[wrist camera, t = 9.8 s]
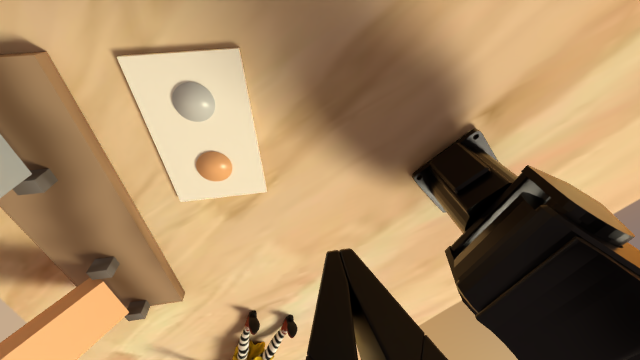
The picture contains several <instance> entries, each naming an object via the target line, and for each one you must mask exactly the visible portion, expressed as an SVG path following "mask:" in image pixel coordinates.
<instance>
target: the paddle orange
mask: <svg viewBox="0 0 640 360" xmlns="http://www.w3.org/2000/svg"><path fill="white" fill-rule="evenodd" d="M128 313H129V311H128V310H127V309H126V308H125V307H124V305H123V304H122V303H121V302H120V301H119V299H118V298H117V297H116V296H115V295H114V294H113V292H112V291H111V290H110V289H109V288H108V286H107V285H106V284H105V283H104V282H103V281H102V280H101V279H96V280H92V279H91V278H89V279H87V280H86V281H84V282H83V283H82V284H80V285H79V286H78V287H76V288H75V289H73V290H72V291H71V292H69V293H68V294H67V295H65V296H64V297H63V298H61V299H60V300H58V301H57V302H56V303H54V304H53V305H52V306H50V307H49V308H47V309H46V310H45V311H43V312H42V313H41V314H39V315H38V316H36V317H35V318H34V319H32V320H31V321H30V322H28V323H27V324H25V325H24V326H23V327H21V328H20V329H19V330H17V331H16V332H15V333H13V334H12V335H11V336H9V337H8V338H6V339H5V340H4V341H2V342H1V343H0V360H77V359H78V358H79V357H80V356H81V355H83V354H84V353H85V352H86V351H87V350H88V349H89V348H90V347H91V346H93V345H94V344H95V343H96V342H97V341H98V340H99V339H100V338H101V337H103V336H104V335H105V334H106V333H107V332H108V331H109V330H110V329H111V328H113V327H114V326H115V325H116V324H117V323H118V322H119V321H120V320H121V319H123V318H124V317H125V316H126V315H127V314H128Z"/></svg>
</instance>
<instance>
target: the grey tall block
mask: <svg viewBox="0 0 640 360" xmlns="http://www.w3.org/2000/svg"><path fill="white" fill-rule="evenodd" d="M31 174H32V173H31V172H30V171H29V169H28V168H27V167H26V166H25V164H24V163H23V162H22V161H21V159H20V158H19V157H18V156H17V154H16V153H15V152H14V151H13V149H12V148H11V147H10V146H9V144H8V143H7V142H6V141H5V139H4V138H3V137H2V135H1V134H0V198H1V197H3V196H4V195H5V194H7V193H8V192H9V191H10V190H12V189H13V188H14V187H16V186H17V185H18V184H20V183H21V182H22V181H24V180H25V179H26V178H28V177H29V176H30V175H31Z"/></svg>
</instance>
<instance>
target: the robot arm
mask: <svg viewBox="0 0 640 360" xmlns="http://www.w3.org/2000/svg"><path fill="white" fill-rule="evenodd" d="M475 134H476V135H475ZM474 135H475V137H473V136H474ZM521 172H522V173H521V174H520V175H519V176H516V175H515V174H514V173H512V172H511V171H510V170H508V169H507V168H506V167H504V166H503V165H502V164H501V163H499V162H498V160H497V159H496V157H495V155H494V153H493V152H492V150H491V148H490V146H489V145H488V143H487V141H486V139H485V138H484V136H483V134H482V133H481V132H480V131H479V130H477V129H473V130H471V131H470V132H469V133H467V134H466V135H465V136H463V137H462V138H460V139H459V140H458V141H456V142H455V143H454V144H452V145H451V146H450V147H448V148H447V149H446V150H444V151H443V152H442V153H440V154H439V155H437V156H436V157H435V158H433V159H432V160H431V161H429V162H428V163H427V164H425V165H424V166H423V167H421V168H420V169H418V170H417V171H416V172H415V173H414V174H413V176H412V177H413V179H414V181H415V182H416V183H417V184H418V185H419V186H420V187H421V188H422V190H423V191H424V192H425V193H426V194H427V195H428V196H429V197H430V199H431V200H432V201H433V202H434V203H435V204H436V205H437V206H438V207H439V209H440V210H441V211H442V212H447V213H448V215H449V216H450V217H451V218H452V220H453V221H454V222H455V224H456V225H457V226H458V227H459V229H460V230H461V231H462V233H463V234H462V235H461V236H460V237H459V239H458V240H457V241H456V242H455V243H454V244H453V245H452V246H449V247H448V248H447V249H446V250H445V253H446V256H447V259H448V262H449V265H450V268H451V271H452V274H453V277H454V280H455V283H456V286H457V289H458V292H459V294H460V296H461V298H462V301H463V302H464V303H465V304H466V305H467V306H468V308H469V309H470V310H471V311H472V312H473V313H474V314H475V317H476V319H477V320H478V321H479V322H480V323H482V324H483V325H484V326H486V327H487V328H488V329H489V330H491V331H492V332H493V333H494V334H495V335H496V336H497V337H498V338H499V339H500V340H501V341H502V342H503V343H504V344H505V345H506V346H507V347H508V348H509V349H510V350H511V352H512V353H513V354H514V355H515V356H516V358H517V359H518V360H640V250H638V249H637V248H635V247H634V246H632V245H631V244H629V243H628V241H629V240H631V239H632V238H634V237H635V235H634V234H633V233H632V232H631V231H630V230H629V229H628V228H627V227H625V225H624V224H623V223H622V222H620V221H619V220H618V219H617V218H616V217H615V216H614V215H613V214H612V213H611V212H610V211H609V210H608V209H607V208H606V207H605V206H603V205H602V204H601V203H600V202H598V201H597V200H595V199H593V198H592V197H590V196H588V195H587V194H585V193H583V192H582V191H580V190H579V189H577V188H575V187H574V186H572V185H570V184H569V183H567V182H564V181H562V180H560V179H558V178H555V177H553V176H551V175H549V174H546V173H544V172H542V171H540V170H537V169H535V168H533V167H531V166H528V165H527V166H526V167H525V168H524V169H523V170H522V171H521ZM418 176H419V177H418ZM417 177H418V178H417ZM356 344H357V348H358V351H359V354H360V357H361V360H448V359H447V358H446V357H445V356H444V355H443V353H442V352H441V351H440V350H439V349H438V348H437V347H436V346H435V345H434V343H433V342H432V341H431V340H430V339H429V338H428V337H427V335H425V336H424V332H423V331H422V330H421V329H420V327H419V326H418V325H417V324H416V323H415V322H414V320H413V319H412V318H411V317H410V316H409V315H408V313H407V312H406V311H405V310H404V309H403V308H402V307H401V305H400V304H399V303H398V302H397V301H396V300H395V298H394V297H393V296H392V295H391V294H390V293H389V292H388V290H387V289H386V288H385V287H384V286H383V285H382V283H381V282H380V281H379V280H378V279H377V278H376V277H375V275H374V274H373V273H372V272H371V271H370V270H369V268H368V267H367V266H366V265H365V264H364V263H363V262H362V260H361V259H360V258H359V257H358V256H357V255H356V253H355V252H354V251H353V250H352V249H350V248H348V249H341V250H340V251H338V250H334V251H328V252H327V254H326V258H325V263H324V269H323V274H322V279H321V284H320V289H319V294H318V299H317V304H316V310H315V315H314V320H313V325H312V330H311V335H310V340H309V345H308V351H307V356H306V360H358V356H357V348H356Z"/></svg>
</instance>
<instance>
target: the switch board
mask: <svg viewBox="0 0 640 360" xmlns="http://www.w3.org/2000/svg"><path fill="white" fill-rule="evenodd" d="M0 134H1V135H2V137H3V138H4V139H5V141H6V142H7V143H8V144H9V146H10V147H11V148H12V149H13V151H14V152H15V153H16V154H17V156H18V157H19V158H20V159H21V161H22V162H23V163H24V164H25V166H26V167H27V168H28V169H29V171H30V172H31V173H32V174H31V175H30V176H29V177H28V178H26V179H25V180H24V181H22V182H21V183H20V184H18V185H17V186H16V187H14V188H13V189H12V190H10V191H9V192H8V193H7V194H5V195H4V196H3V197H1V198H0V207H1V208H2V209H3V210H4V211H5V212H6V213H7V214H8V215H9V216H10V218H11V219H12V220H13V221H14V222H15V223H16V224H17V225H18V226H19V227H20V228H21V229H22V230H23V231H24V232H25V233H26V234H27V235H28V236H29V237H30V238H31V239H32V240H33V242H34V243H35V244H36V245H37V246H38V247H39V248H40V249H41V250H42V251H43V252H44V253H45V254H46V255H47V256H48V257H49V258H50V259H51V260H52V261H53V262H54V263H55V265H56V266H57V267H58V268H59V269H60V270H61V271H62V272H63V273H64V274H65V275H66V276H67V277H68V278H69V279H70V280H71V281H72V282H73V283H74V284H75V285H76V286H77V287H78V286H79V285H80V284H82V283H83V282H84V281H86V280H87V279H89V278H91V279H92V280H96V279H101V280H102V281H103V282H104V283H105V284H106V285H107V286H108V288H109V289H110V290H111V291H112V292H113V294H114V295H115V296H116V297H117V298H118V299H119V301H120V302H121V303H122V304H123V305H124V307H125V308H126V309H127V310H128V311H129V313H128V314H127V315H126V316H125V318H126V319H127V320H128V321H132V320H139V319H145V318H146V315H147V313H148V310H149V308H150V306H153V305H160V304H166V303H173V302H180V301H183V298H184V294H185V292H184V290H183V288H182V286H181V285H180V283H179V281H178V279H177V278H176V276H175V274H174V272H173V271H172V269H171V267H170V266H169V264H168V262H167V260H166V259H165V257H164V255H163V253H162V252H161V250H160V248H159V246H158V245H157V243H156V241H155V239H154V238H153V236H152V234H151V232H150V231H149V229H148V227H147V225H146V224H145V222H144V220H143V218H142V217H141V215H140V213H139V212H138V210H137V208H136V206H135V205H134V203H133V201H132V199H131V198H130V196H129V194H128V192H127V191H126V189H125V187H124V185H123V184H122V182H121V180H120V178H119V177H118V175H117V173H116V171H115V170H114V168H113V166H112V164H111V163H110V161H109V159H108V158H107V156H106V154H105V152H104V151H103V149H102V147H101V145H100V144H99V142H98V140H97V138H96V137H95V135H94V133H93V131H92V130H91V128H90V126H89V124H88V123H87V121H86V119H85V117H84V116H83V114H82V112H81V111H80V109H79V107H78V105H77V104H76V102H75V100H74V98H73V97H72V95H71V93H70V91H69V90H68V88H67V86H66V84H65V83H64V81H63V79H62V77H61V76H60V74H59V72H58V70H57V69H56V67H55V65H54V63H53V62H52V60H51V58H50V57H49V55H48V53H47V52H34V53H19V54H3V55H0Z"/></svg>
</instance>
